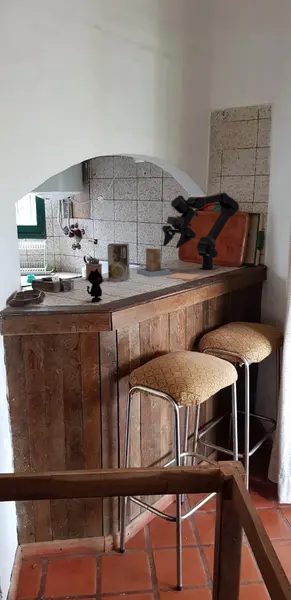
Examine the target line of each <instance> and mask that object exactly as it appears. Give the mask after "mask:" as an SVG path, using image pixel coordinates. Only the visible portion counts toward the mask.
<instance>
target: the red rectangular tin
mask: <svg viewBox="0 0 291 600" xmlns="http://www.w3.org/2000/svg"><path fill="white" fill-rule="evenodd" d="M86 261H87V262H85V263H84V264H85V280H86V281H89V280H88V276H89V274H90V273H91V271H93V272H94V271H95V270H96V269H97V268H98V272H99V273H100V274H101V275H102V276H103V272H102V271H103V270H102V268H103V267H102V266H103V264H102V263H100V258H96V257H93V258H92V257H87V258H86Z"/></svg>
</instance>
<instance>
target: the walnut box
mask: <svg viewBox="0 0 291 600" xmlns="http://www.w3.org/2000/svg"><path fill="white" fill-rule="evenodd" d="M161 256H162V249H161V248H159V247H147V248H145V268H146V271H148V272H156V271H161V268H162V265H161V264H162V257H161Z"/></svg>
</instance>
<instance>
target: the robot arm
mask: <svg viewBox="0 0 291 600" xmlns="http://www.w3.org/2000/svg"><path fill="white" fill-rule="evenodd" d="M213 203H214V204H215V203H218V206H219V207H220V209H219V210H220V213H219V215H218V217H217V219H216V220H215V222H214V224H213V225H212V227H211V229H210V230H209V232H208V233H207V235H206V236H201V237H200V239H199V241H198V242H197V245H196V250H197V254H198V256H199V257H201V266H200V267H199V269H200V270H214V269H215V268H216V266H214V258H218V254H219V253H218V251H217V250H216V241H217V239H218V238H219V236H220V234H221V232H222V231H223V229H224V227H225V226H226V224H227V222H228V220H229V219H230V218H232V217H233V216H235V215H236V213H237V212H238V211H239V209H240V208H239V207H240V205H239V203H238V202H237V201H236V200H235V199H234V198H232V197H231V196H229V195H228V194H227V193H226V192H217V193H213V194H209V195H205V196H189V197H187V199H186V198H185V197H184V196H183V195H178V196H177V197H175V198H174V199H173V200H172V201H171V203H170V206H171V207H172V208H173V210H175V211H176V212H177V213H178V214H181V215H176V217H175V216H167V220H166V224H164V225H163V226H162V228H161V230H162V232H163V234H164V238H163V243H162V246H163V247H166V246H167V245H168V244H169V243H170V242H171V241H172V240H173V239H174V236H175V235H176V234H178V235H179V234H180V237H179V239H178V242H177V243H176V246H175V249H179V248H180V247H182V246H183V245H184V244H186V243H188V242H190V241H191V240H195V238H196V235H197V234H196V232H195V231H194V230H193V229H192V228H191V227H192V221H193V220H194V218H198V217H199V213H198V211H197V210H201V209H202V208H204V207H206V206H207V205H210V204H213Z"/></svg>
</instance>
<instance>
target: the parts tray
mask: <svg viewBox="0 0 291 600" xmlns="http://www.w3.org/2000/svg"><path fill="white" fill-rule="evenodd" d="M136 274H137V275H142V276H145V277H146V276H147V277H149V278H152V277H158V276H159V277H160V276H170V275H171V270H170V269H166V268H162V267H161V271H156V272H148V271H146V267H142V268H137V269H136Z"/></svg>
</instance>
